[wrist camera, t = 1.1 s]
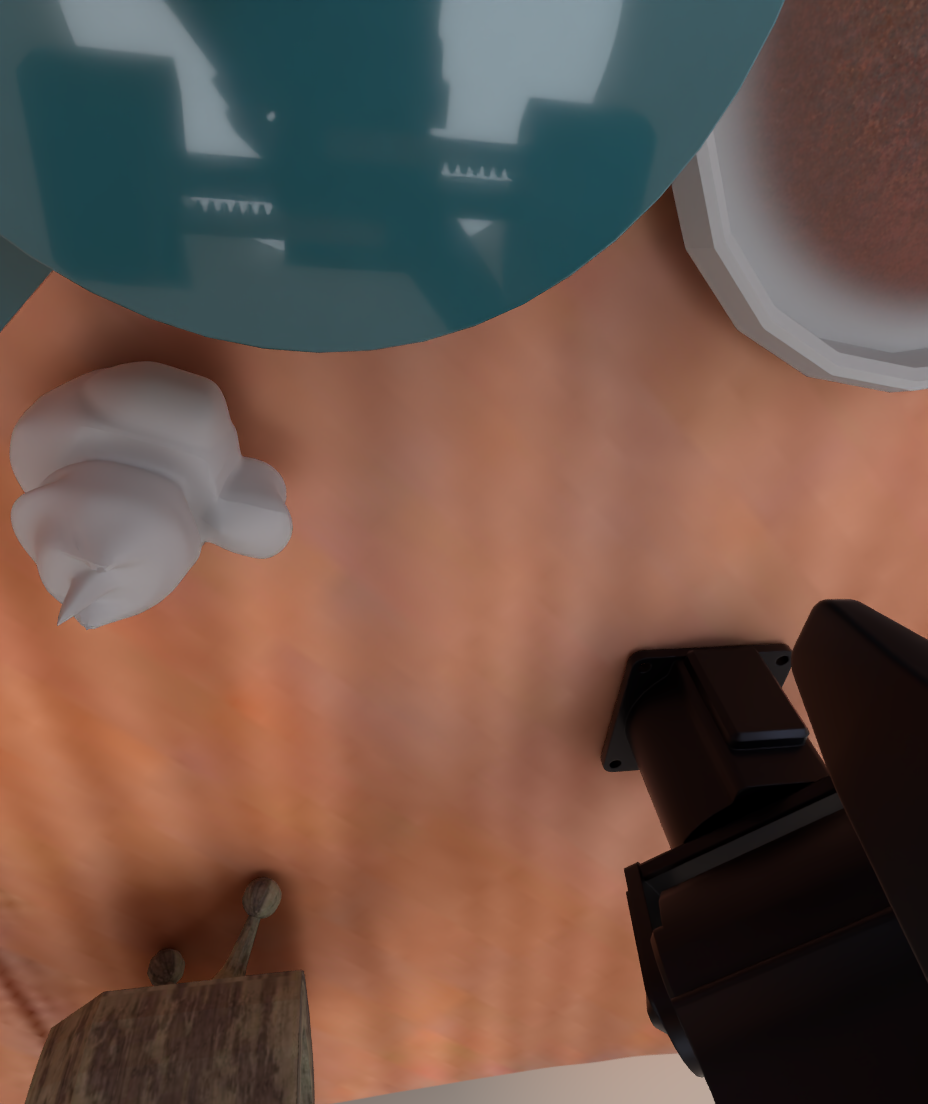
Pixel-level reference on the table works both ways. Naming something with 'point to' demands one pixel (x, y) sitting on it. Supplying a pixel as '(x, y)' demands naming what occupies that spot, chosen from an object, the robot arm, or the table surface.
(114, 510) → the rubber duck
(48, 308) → the table surface
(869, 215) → the frying pan
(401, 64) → the pot lid
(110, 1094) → the tabletop clock
